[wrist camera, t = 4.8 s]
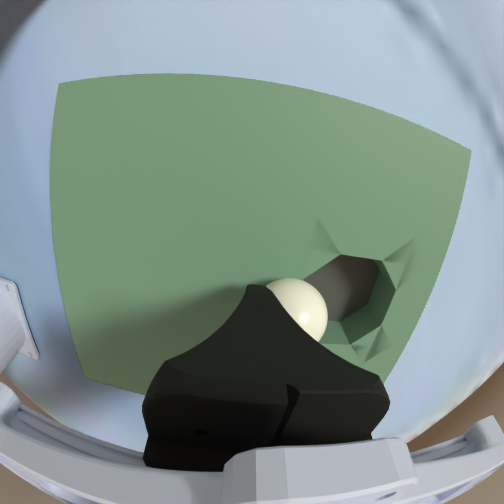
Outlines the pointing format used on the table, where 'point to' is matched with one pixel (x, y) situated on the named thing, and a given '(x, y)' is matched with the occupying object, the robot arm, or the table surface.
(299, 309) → the ball
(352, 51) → the table surface
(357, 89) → the table surface
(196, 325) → the putting board
